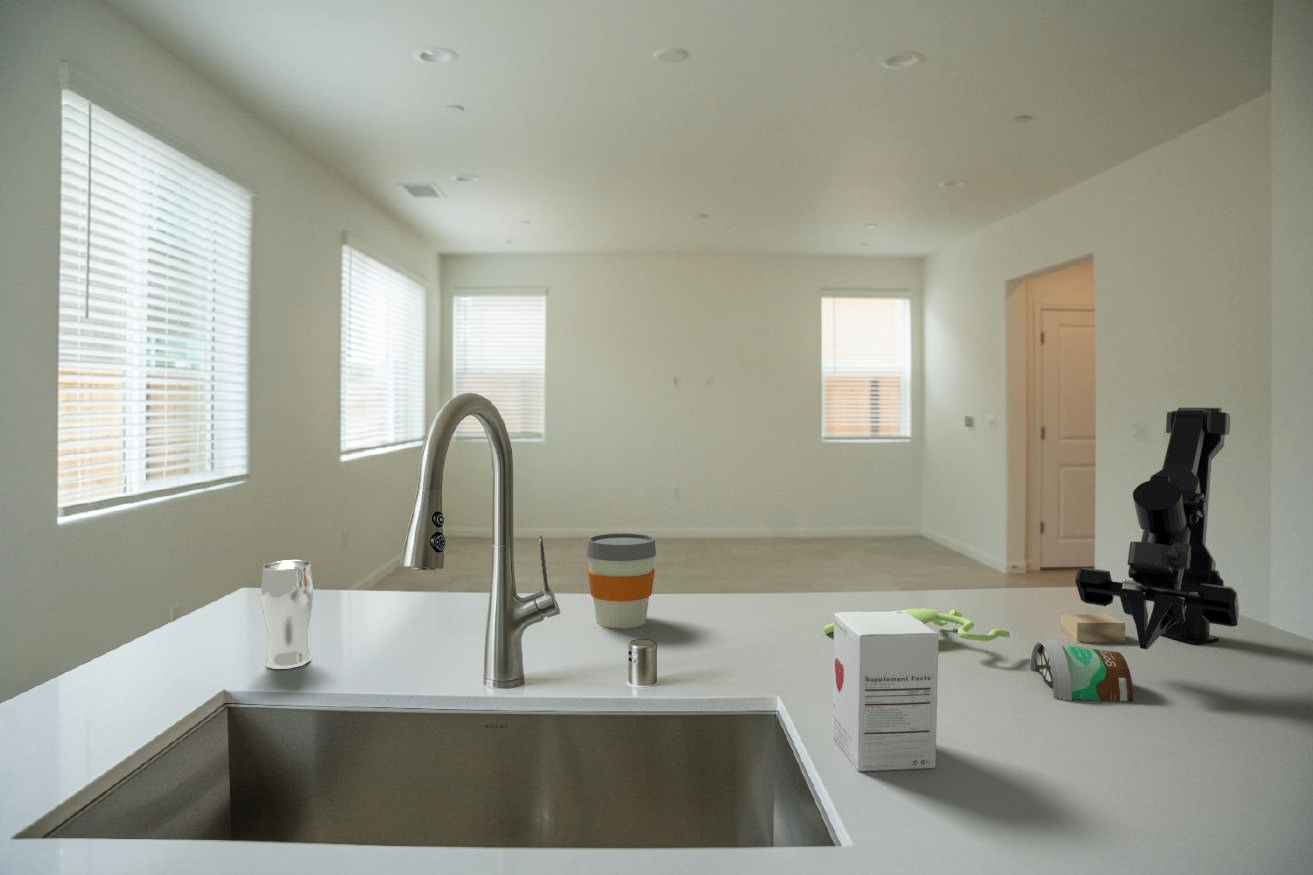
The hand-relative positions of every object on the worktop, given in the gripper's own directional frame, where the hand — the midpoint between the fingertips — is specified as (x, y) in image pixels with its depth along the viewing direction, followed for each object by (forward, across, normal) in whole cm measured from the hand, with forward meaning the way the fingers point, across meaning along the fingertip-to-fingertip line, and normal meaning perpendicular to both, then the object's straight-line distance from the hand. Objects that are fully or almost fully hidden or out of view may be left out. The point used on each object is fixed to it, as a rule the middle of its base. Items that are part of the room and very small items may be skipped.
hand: (1143, 647), depth 102 cm
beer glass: (+57, -96, -48) cm, 122 cm away
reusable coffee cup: (+22, -76, -12) cm, 80 cm away
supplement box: (+33, -18, -24) cm, 44 cm away
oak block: (-12, -12, +22) cm, 28 cm away
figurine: (+5, -32, +5) cm, 33 cm away
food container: (+2, -3, +3) cm, 4 cm away
